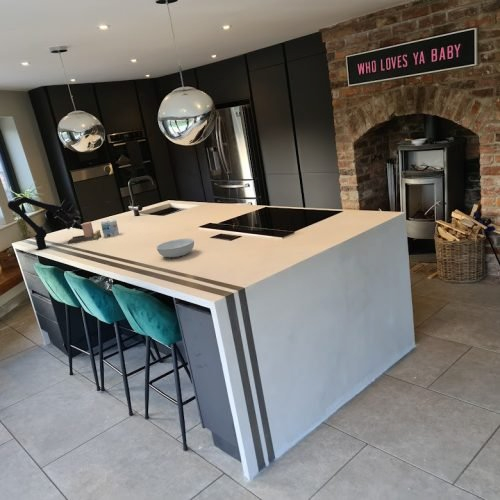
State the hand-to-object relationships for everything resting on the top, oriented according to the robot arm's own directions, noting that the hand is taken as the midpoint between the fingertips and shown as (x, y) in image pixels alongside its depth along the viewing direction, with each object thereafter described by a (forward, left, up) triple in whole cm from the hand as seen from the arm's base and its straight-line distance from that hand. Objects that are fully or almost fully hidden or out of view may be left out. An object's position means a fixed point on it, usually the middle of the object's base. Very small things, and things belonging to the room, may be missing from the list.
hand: (83, 229), depth 338 cm
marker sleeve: (0, -3, -6) cm, 7 cm away
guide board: (0, +1, -8) cm, 8 cm away
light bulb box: (0, -18, -8) cm, 20 cm away
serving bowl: (-80, -73, -8) cm, 109 cm away
